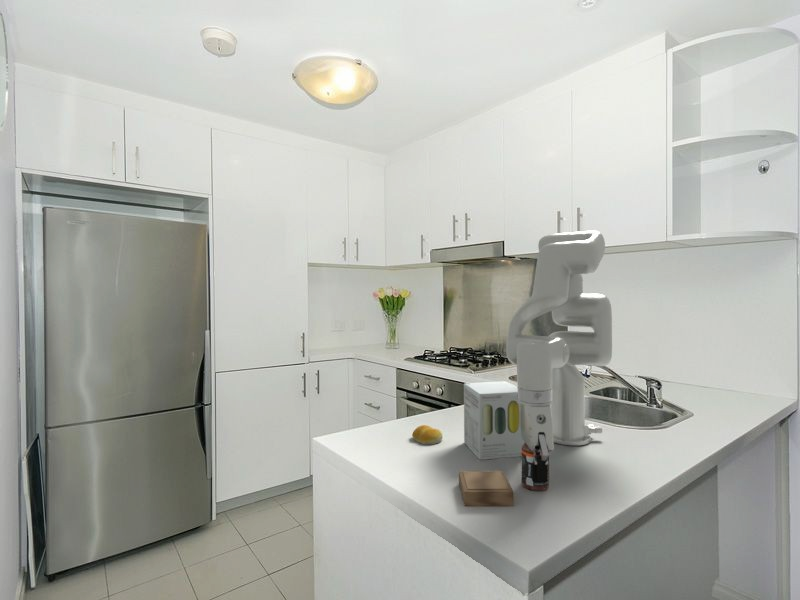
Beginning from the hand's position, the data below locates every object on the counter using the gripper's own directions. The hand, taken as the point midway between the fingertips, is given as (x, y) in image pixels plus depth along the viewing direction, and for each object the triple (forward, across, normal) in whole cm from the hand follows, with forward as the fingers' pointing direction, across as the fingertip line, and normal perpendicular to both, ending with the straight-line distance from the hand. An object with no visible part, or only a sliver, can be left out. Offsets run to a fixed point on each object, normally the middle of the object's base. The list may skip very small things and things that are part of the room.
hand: (535, 474), depth 96 cm
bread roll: (+3, +30, +23) cm, 38 cm away
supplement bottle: (+3, 0, 0) cm, 3 cm away
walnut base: (+3, -4, +12) cm, 13 cm away
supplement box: (+3, +22, +5) cm, 23 cm away
